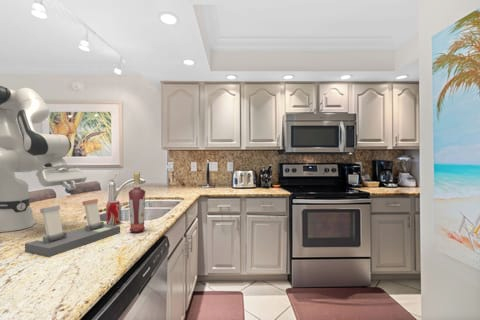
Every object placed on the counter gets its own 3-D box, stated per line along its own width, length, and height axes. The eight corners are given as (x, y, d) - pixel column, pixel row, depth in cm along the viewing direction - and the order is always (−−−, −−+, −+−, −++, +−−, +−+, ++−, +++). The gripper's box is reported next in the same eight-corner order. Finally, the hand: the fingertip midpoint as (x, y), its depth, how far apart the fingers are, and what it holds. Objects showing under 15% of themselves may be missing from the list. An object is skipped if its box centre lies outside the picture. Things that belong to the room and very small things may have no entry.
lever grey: (45, 242, 96) (39, 209, 97) (61, 237, 101) (56, 206, 102) (49, 241, 95) (43, 208, 96) (65, 236, 100) (59, 205, 101)
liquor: (144, 233, 117) (144, 172, 117) (127, 234, 116) (127, 173, 116) (146, 228, 125) (146, 172, 124) (130, 229, 123) (130, 172, 123)
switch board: (24, 251, 95) (24, 237, 95) (98, 229, 123) (98, 218, 123) (49, 256, 89) (48, 241, 89) (120, 232, 118) (120, 221, 118)
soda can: (114, 226, 130) (114, 202, 130) (103, 225, 131) (102, 202, 131) (123, 222, 137) (123, 200, 137) (112, 222, 138) (112, 200, 138)
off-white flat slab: (87, 230, 111) (81, 202, 113) (99, 227, 117) (94, 199, 118) (91, 229, 111) (85, 200, 112) (103, 226, 116) (97, 198, 117)
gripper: (75, 171, 134) (89, 190, 131) (31, 175, 115) (46, 197, 112) (81, 163, 132) (95, 182, 129) (37, 165, 113) (52, 187, 110)
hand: (72, 189), depth 120 cm, fingers closed
